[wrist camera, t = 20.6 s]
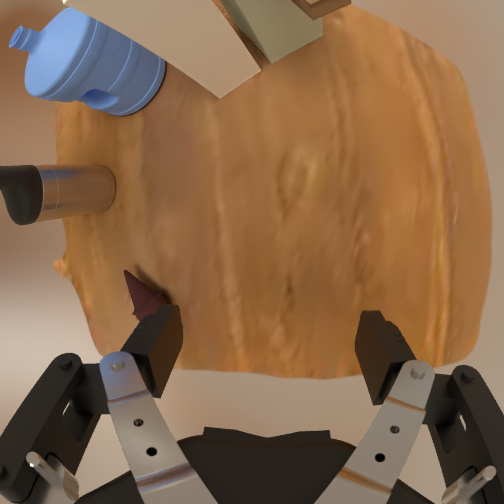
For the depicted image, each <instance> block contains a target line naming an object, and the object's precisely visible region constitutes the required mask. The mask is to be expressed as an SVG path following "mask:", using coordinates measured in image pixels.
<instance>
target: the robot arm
mask: <svg viewBox="0 0 504 504" xmlns="http://www.w3.org/2000/svg"><path fill="white" fill-rule="evenodd" d="M0 190H1V192H2V194H3V197H4V199H5V203H6V207H7V210H8V213H9V215H10V217H11V219H12V220H13V221H14V222H15V223H16V224H18V225H27V224H32V223H37V222H43V221H48V220H53V219H59V218H65V217H71V216H78V215H84V214H91V213H97V212H103V211H105V210H107V209H108V208H109V207H110V205H111V204H112V202H113V199H114V196H115V180H114V176H113V174H112V172H111V171H110V170H109V169H108V168H107V167H104V166H91V165H21V166H0ZM182 344H183V330H182V323H181V316H180V309H179V306H178V305H170V304H161V305H160V306H159V308H158V309H157V311H156V312H155V314H149V315H147V316H146V317H144V318H143V319H141V321H140V322H139V324H138V325H137V328H135V330H134V331H133V333H132V334H131V335H130V337H129V338H128V340H127V341H126V343H125V344H124V346H123V347H122V349H121V350H120V351H119V352H113V353H110V354H108V355H106V356H105V357H103V358H102V360H101V361H100V363H97V364H83V363H82V361H81V359H80V357H79V356H78V355H77V354H74V353H65V354H61V355H59V356H57V357H56V358H55V359H54V360H53V361H52V362H51V364H50V365H49V366H48V368H47V369H46V370H45V372H44V373H43V374H42V376H41V377H40V379H39V380H38V381H37V382H36V384H35V385H34V387H33V388H32V389H31V391H30V393H29V394H28V395H27V397H26V398H25V399H24V401H23V402H22V404H21V405H20V407H19V408H18V410H17V411H16V413H15V414H14V416H13V417H12V419H11V420H10V422H9V424H8V425H7V427H6V428H5V430H4V432H3V433H2V435H1V436H0V494H1V495H2V496H3V497H4V498H5V499H6V500H7V501H9V502H10V503H11V504H434V503H433V502H432V501H430V500H428V499H427V498H426V497H424V496H422V495H421V494H419V493H418V492H417V491H415V490H414V489H412V488H411V487H409V486H408V485H406V484H405V483H404V482H402V481H401V480H400V479H398V477H399V474H400V472H401V471H402V469H403V466H404V464H405V462H406V460H407V458H408V456H409V453H410V451H411V449H412V447H413V444H414V442H415V439H416V437H417V435H418V432H419V430H420V427H421V425H422V424H427V425H428V428H429V431H430V434H431V437H432V440H433V443H434V446H435V449H436V453H437V456H438V459H439V462H440V466H441V469H442V473H443V476H444V480H445V484H446V487H447V489H446V490H445V492H444V494H443V496H442V504H504V415H503V413H502V411H501V409H500V407H499V406H498V404H497V402H496V400H495V399H494V397H493V395H492V393H491V392H490V390H489V388H488V387H487V385H486V383H485V382H484V380H483V378H482V377H481V375H480V374H479V372H478V371H477V370H476V369H474V368H473V367H470V366H467V365H460V366H457V367H456V368H455V369H454V370H453V372H452V374H451V375H444V374H435V372H434V370H433V368H432V367H431V366H430V365H429V364H427V363H426V362H423V361H420V360H417V359H416V357H415V356H414V354H413V352H412V351H411V349H410V347H409V345H408V344H407V342H405V339H404V337H403V336H402V334H401V332H400V330H399V329H398V327H397V326H396V325H394V324H393V323H392V322H390V321H386V320H385V319H384V317H383V315H382V314H381V312H380V311H379V310H373V311H363V312H362V313H361V317H360V321H359V326H358V330H357V334H356V339H355V352H356V355H357V358H358V361H359V364H360V367H361V370H362V373H363V376H364V379H365V382H366V385H367V387H368V391H369V394H370V396H371V400H372V403H373V405H381V404H382V406H381V408H380V410H379V412H378V413H377V415H376V417H375V419H374V420H373V422H372V424H371V426H370V427H369V429H368V430H367V432H366V434H365V435H364V437H363V439H362V440H361V442H360V443H359V445H358V446H357V447H355V446H353V445H351V444H349V443H346V442H344V441H341V440H337V439H331V437H330V430H324V431H302V432H301V431H300V432H295V433H291V434H286V435H280V436H275V437H269V438H266V437H261V436H257V435H253V434H249V433H245V432H242V431H238V430H233V429H221V428H212V427H204V432H203V435H197V436H191V437H187V438H184V439H181V440H179V441H177V442H176V441H175V439H174V437H173V435H172V433H171V432H170V430H169V428H168V426H167V424H166V422H165V420H164V419H163V417H162V415H161V413H160V411H159V409H158V407H157V405H156V403H155V401H154V399H153V397H154V398H161V396H162V393H163V391H164V388H165V386H166V383H167V381H168V379H169V376H170V374H171V371H172V369H173V367H174V364H175V362H176V359H177V357H178V355H179V352H180V350H181V348H182ZM68 403H70V404H69V406H68V407H67V409H66V411H65V413H64V414H63V411H64V409H65V408H66V406H67V404H68ZM101 414H110V415H111V417H112V421H113V424H114V427H115V430H116V433H117V435H118V438H119V441H120V444H121V447H122V449H123V452H124V454H125V457H126V459H127V462H128V464H129V467H130V469H131V470H129V471H128V472H126V473H124V474H122V475H121V476H119V477H118V478H115V479H114V480H112V481H110V482H108V483H106V484H104V485H103V486H101V487H99V488H97V489H95V490H93V491H91V492H89V493H87V494H85V495H83V496H82V497H80V498H79V494H78V492H79V484H78V481H77V479H76V478H75V477H74V476H75V474H76V471H77V468H78V466H79V464H80V462H81V459H82V457H83V454H84V452H85V449H86V448H87V445H88V443H89V441H90V438H91V436H92V434H93V432H94V429H95V427H96V425H97V423H98V421H99V419H100V416H101ZM461 415H462V417H463V419H464V422H465V424H466V431H465V429H464V427H463V424H462V422H461V420H460V416H461ZM78 498H79V499H78Z"/></svg>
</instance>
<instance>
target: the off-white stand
mask: <svg viewBox="0 0 504 504" xmlns="http://www.w3.org/2000/svg"><path fill="white" fill-rule="evenodd" d="M63 3H64V4H66V5H68V6H70V7H72V8H74V9H76V10H78V11H80V12H82V13H84V14H86V15H88V16H90V17H92V18H94V19H96V20H98V21H100V22H102V23H104V24H105V25H107V26H109V27H111V28H113V29H115V30H116V31H118V32H120V33H122V34H123V35H125V36H127V37H129V38H130V39H132V40H134V41H135V42H137V43H139V44H140V45H142V46H143V47H145V48H147V49H148V50H150V51H152V52H153V53H155V54H156V55H158V56H159V57H161V58H162V59H164V60H166V61H167V62H169V63H170V64H172V65H173V66H175V67H176V68H177V69H179V70H180V71H182V72H183V73H185V74H186V75H188V76H189V77H191V78H192V79H193V80H195V81H196V82H198V83H199V84H200V85H202V86H203V87H204V88H206V89H207V90H209V91H210V92H211V93H213V94H214V95H215V96H217V97H218V98H219V99H221V98H222V97H224V96H225V95H227V94H228V93H229V92H231V91H232V90H234V89H235V88H237V87H238V86H239V85H241V84H242V83H244V82H245V81H247V80H248V79H250V78H251V77H253V76H254V75H256V74H257V73H259V72H261V69H260V68H259V66H258V65H257V63H256V62H255V60H254V59H253V57H252V56H251V54H250V53H249V51H248V50H247V48H246V47H245V45H244V44H243V42H242V41H241V39H240V38H239V37H238V35H237V34H236V32H235V31H234V29H233V28H232V27H231V25H230V24H229V23H228V21H227V20H226V18H225V17H224V16H223V14H222V13H221V12H220V10H219V9H218V8H217V7H216V5H215V4H214V3H213V1H212V0H63Z"/></svg>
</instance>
